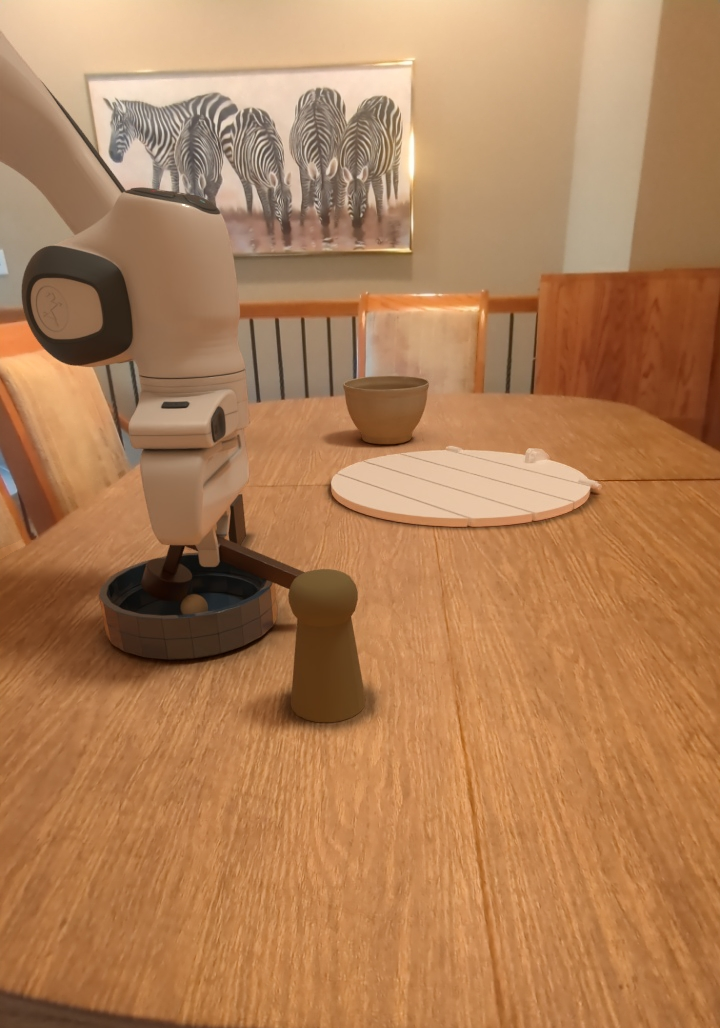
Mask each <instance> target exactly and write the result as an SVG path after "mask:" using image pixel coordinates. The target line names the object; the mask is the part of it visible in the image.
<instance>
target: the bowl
mask: <svg viewBox="0 0 720 1028" xmlns="http://www.w3.org/2000/svg"><path fill="white" fill-rule="evenodd" d="M166 556H167V555H164V556H160V557H159V558H163V559H166ZM149 560H150V559H148V560H144V561H141V562H138V563H135V564H133V565H130V566H128V567H125V568H123V569H122V570H120V571H118V572H115V573H114V574H112V575H111V576H109V577H108V578H107V579H106V580H105V581H104V583H102V584H101V586H100V589H99V593H98V599H99V604H100V605H99V606H100V610H101V615H102V620H103V625H104V630H105V634H106V636H107V638H108V640H109V642H110V644H112V645H113V646H114V647H116V648H117V649H119V650H121V651H123V652H125V653H127V654H131V655H136V656H139V657H142V658H149V659H155V660H169V661H178V660H179V661H183V660H194V659H203V658H207V657H212V656H213V657H214V656H218V655H221V654H226V653H228V652H231V651H234V650H236V649H239V648H241V647H244V646H246V645H248V644H250V643H252V642H253V641H255V640H258V639H259V638H261V637H263V636H264V635H265V634H266V633H267V632H269V631H270V629H271V628H273V627H274V625H275V623H276V621H277V618H278V616H279V614H278V601H277V589H276V584H275V583H273V582H271V581H268V580H266V579H263V578H261V577H258V576H256V575H254V574H251V573H249V572H246V571H244V570H242V569H239V568H237V567H234V566H232V565H230V564H227V563H225V562H222V561H220V562H219V564H218V565H217V566H216V567H203V566H201V565H200V563H199V556H198V552H185V553H184V552H183V554H182V558H181V561H180V564H182V565H183V566H185V567H186V568H187V569H188V570H189V571H190V572H191V574H192V580H191V583H190V586H189V589H188V592H187V595H186V597H187V596H189V595H192V594H196V595H200V596H202V597H203V598H204V599H205V600H206V602H207V605H208V611H207V612H201V613H195V614H188V615H183V614H182V612H181V603H182V601H183V600H181V601H177V602H170V601H164V600H160V599H157V598H155V597H153V596H151V595H149V594H148V593H147V592H145V591H144V590H143V588H142V586H141V580H142V577H143V574H144V571H145V567H146V564H147V562H148V561H149Z"/></svg>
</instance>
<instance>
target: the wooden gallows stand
mask: <svg viewBox="0 0 720 1028" xmlns="http://www.w3.org/2000/svg"><path fill="white" fill-rule="evenodd" d="M216 537H217V541H218V544H221V554H222V559H221V561H222V562H225V563H227V564H230V565H232V566H234V567H237V568H239V569H242V570H244V571H246V572H249V573H251V574H254V575H256V576H258V577H261V578H263V579H266V580H268V581H271V582H273V583H275V585H277V586H281V587H283V588H285V589H288V590H289V589H290V586H291V584H292V582H293V581H294V579H295V578H296V577H298V576H299V575H301V574H303V573H305V572H306V571H303V570H300V569H298V568H296V567H293V566H291V565H289V564H286V563H284V562H281V561H279V560H277V559H274V558H272V557H269V556H267V555H264V554H262V553H260V552H258V551H255V550H253V549H250V548H248V547H246V546H243V545H241V544H240V545H238V544H236V543H234V542H231V541H229V540H227V539H224V538H222V537H219V536H217V535H216ZM185 548H189V549H191V550H194V551H196V552H198V549H197V548H196V546H195V545H168V550H167V554H166V555H165V556H166V559H163V558H160V557H156V558H151V559H148V560H149V561H148V562H147V564H146V567H145V571H144V574H143V577H142V580H141V586H142V588H143V590H144V591H145V592H147V593H148V594H149V595H151V596H153V597H155V598H157V599H160V600H164V601H170V602H177V601H181V600H183V599H184V598H185V597H186V595H187V592H188V589H189V586H190V583H191V580H192V574H191V572H190V571H189V570H188V569H187V568H186V567H185V566H183V565H182V564H180V561H181V558H182V554H184V552H185Z"/></svg>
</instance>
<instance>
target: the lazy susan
mask: <svg viewBox="0 0 720 1028" xmlns="http://www.w3.org/2000/svg"><path fill="white" fill-rule="evenodd" d="M330 488H331V489H330V491H331V495H332V497H333V498H334V499H335V500H336V502H338V503H339V504H340V505H342V506H344V507H346V508H348V509H350V510H352V511H355V512H357V513H360V514H363V515H367V516H370V517H373V518H377V519H382V520H387V521H390V522H391V521H392V522H398V523H404V524H411V525H412V524H413V525H419V526H431V527H432V526H433V527H449V528H450V527H454V528H456V527H457V528H458V527H459V528H467V527H470V528H473V527H476V528H478V527H481V528H482V527H499V526H509V525H519V524H525V523H532V522H537V521H542V520H543V521H544V520H547V519H551V518H554V517H559V516H562V515H565V514H567V513H570V512H572V511H574V510H576V509H577V508H578V509H579V507H581V506H582V505H584V504H585V503H586V502H587V501H588V500H589V497H590V494H591V489H593V490H596V491H601V490H602V488H603V485H602V484H601V483H599V481H598V480H593V479H589V478H588V477H587V475H586V474H585V473H583V472H581V471H579V470H578V469H576V468H574V467H572V466H569V465H567V464H564V463H561V462H558V461H555V460H551V457H550V455H549V454H548V452H546V451H545V450H544V449H543V448H538V447H537V448H535V447H534V448H533V447H528V448H527V450H526V451H525V454H520V453H514V452H505V451H497V450H496V451H494V450H481V449H480V450H477V449H463V448H462V447H459V446H454V445H448V446H445V448H444V449H436V450H434V449H433V450H418V451H409V452H401V453H395V454H394V453H392V454H386V455H381V456H377V457H372V458H367V459H365V460H361V461H357V462H355V463H353V464H350V465H348V466H346V467H344V468H342V469H340V470H339V471H337V472H336V473H335V474H334V475H333V477H332V478H331V481H330Z"/></svg>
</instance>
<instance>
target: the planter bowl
mask: <svg viewBox="0 0 720 1028" xmlns="http://www.w3.org/2000/svg"><path fill="white" fill-rule="evenodd" d="M429 386H430V381H429V380H428V379H426V378H423V377H417V376H409V375H408V376H407V375H373V376H372V375H371V376H363V377H357V378H353V379H348V380H346V381H344V382H343V384H342V387H343V390H344V397H345V398H344V399H345V405H346V409H347V411H348V414H349V417H350V419H351V421H352V423H353V425H354V426H355V427H356V429H357V430H358V431H359V433H360V435H361V438H362V441H363V442H365V443H369V444H374V445H397V444H404V443H407V442H409V441H410V440H412V436H413V432H414V430H415V429H416V428H417V426H418V425H419V424H420V421H421V419H422V417H423V415H424V412H425V410H426V405H427V401H428V392H429V391H428V390H429Z"/></svg>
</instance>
